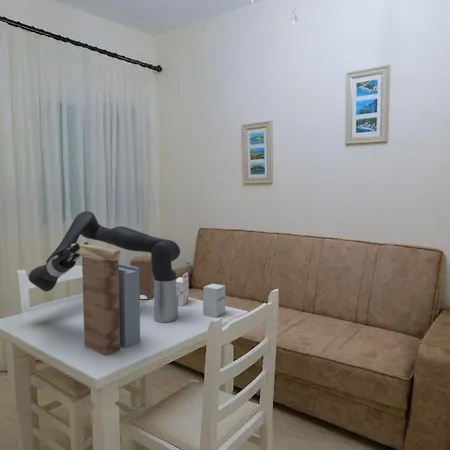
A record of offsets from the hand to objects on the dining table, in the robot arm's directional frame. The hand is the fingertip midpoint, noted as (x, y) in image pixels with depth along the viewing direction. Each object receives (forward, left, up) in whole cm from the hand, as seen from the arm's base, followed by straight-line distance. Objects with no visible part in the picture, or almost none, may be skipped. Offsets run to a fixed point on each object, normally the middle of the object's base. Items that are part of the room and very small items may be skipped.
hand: (82, 245), depth 135 cm
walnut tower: (0, +10, -35) cm, 36 cm away
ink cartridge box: (-54, -4, -35) cm, 65 cm away
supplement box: (-52, +18, -35) cm, 65 cm away
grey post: (-8, +10, -35) cm, 37 cm away
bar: (0, +7, -3) cm, 8 cm away
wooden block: (-49, -26, -35) cm, 66 cm away
